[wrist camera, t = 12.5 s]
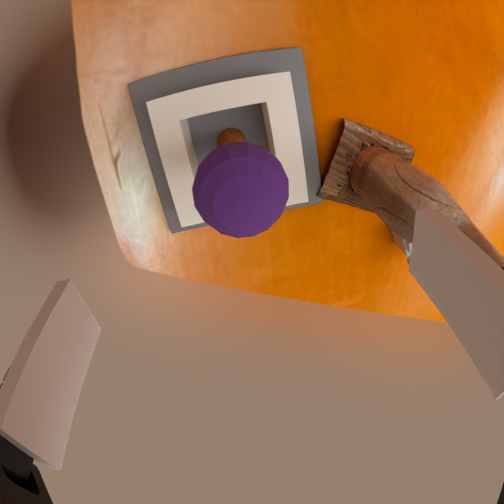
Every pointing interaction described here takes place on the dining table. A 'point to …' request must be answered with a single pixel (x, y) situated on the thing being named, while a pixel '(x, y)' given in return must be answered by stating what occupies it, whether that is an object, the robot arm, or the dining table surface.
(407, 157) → the bird sculpture
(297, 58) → the socket
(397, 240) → the lighter
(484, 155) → the dining table surface
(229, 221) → the kendama
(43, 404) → the robot arm
